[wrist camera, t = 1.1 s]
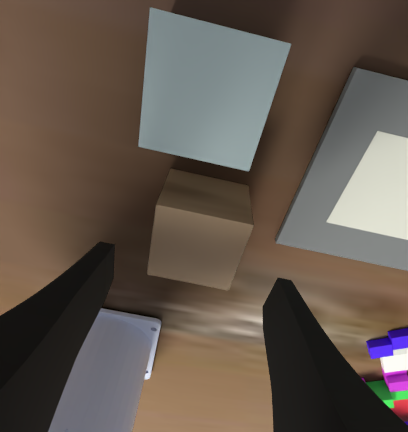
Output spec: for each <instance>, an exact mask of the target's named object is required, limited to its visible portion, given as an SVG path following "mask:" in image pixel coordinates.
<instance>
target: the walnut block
mask: <svg viewBox="0 0 408 432" xmlns="http://www.w3.org/2000/svg"><path fill="white" fill-rule="evenodd" d="M253 226H254V223H253V216H252V209H251V201H250V194H249V187H248V185H244V184H239V183H235V182H230V181H226V180H221V179H217V178H212V177H208V176H203V175H198V174H194V173H189V172H185V171H180V170H176V169H171V168H170V171H169V173H168V176H167V178H166V181H165V183H164V186H163V188H162V191H161V193H160V196H159V199H158V201H157V204H156V209H155V217H154V224H153V231H152V239H151V246H150V253H149V261H148V268H147V275H152V276H157V277H162V278H167V279H172V280H177V281H182V282H188V283H193V284H198V285H203V286H208V287H213V288H218V289H223V290H228V291H229V288H230V286H231V283H232V281H233V278H234V275H235V273H236V270H237V268H238V265H239V262H240V260H241V257H242V255H243V252H244V249H245V247H246V244H247V242H248V239H249V237H250V234H251V231H252V229H253Z"/></svg>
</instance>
